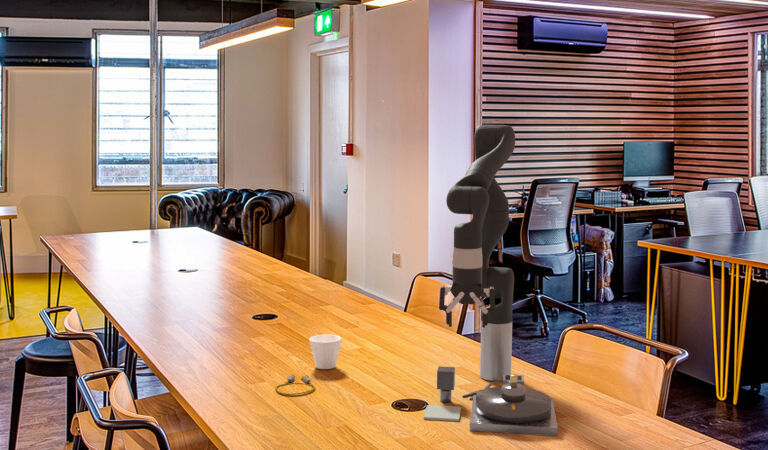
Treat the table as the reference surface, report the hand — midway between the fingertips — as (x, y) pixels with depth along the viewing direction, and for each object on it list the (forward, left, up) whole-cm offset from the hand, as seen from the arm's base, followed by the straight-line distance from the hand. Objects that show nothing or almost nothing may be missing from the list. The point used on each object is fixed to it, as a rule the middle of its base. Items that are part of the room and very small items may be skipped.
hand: (466, 326), depth 201 cm
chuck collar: (+1, +12, -21) cm, 24 cm away
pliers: (-18, +7, -24) cm, 31 cm away
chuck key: (-8, -6, -23) cm, 25 cm away
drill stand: (+2, +12, -23) cm, 26 cm away
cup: (-34, -45, -23) cm, 61 cm away
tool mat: (+2, -6, -23) cm, 24 cm away
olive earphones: (-13, -49, -24) cm, 56 cm away
